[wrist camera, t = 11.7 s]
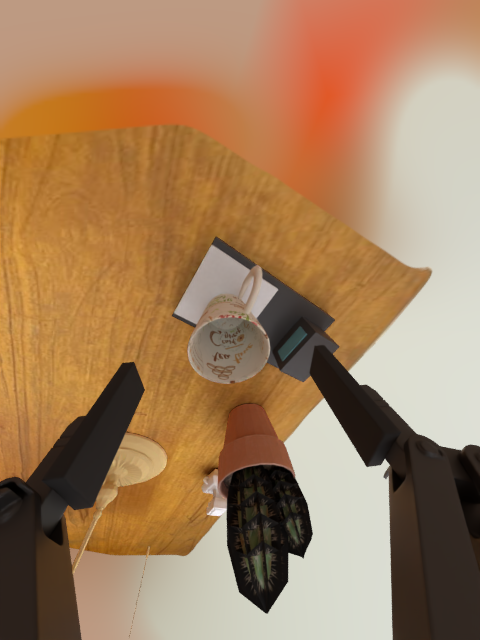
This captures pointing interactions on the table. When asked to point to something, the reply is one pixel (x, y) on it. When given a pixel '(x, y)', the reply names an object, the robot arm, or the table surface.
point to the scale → (260, 308)
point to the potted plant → (260, 505)
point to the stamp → (214, 495)
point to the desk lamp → (127, 474)
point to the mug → (230, 337)
